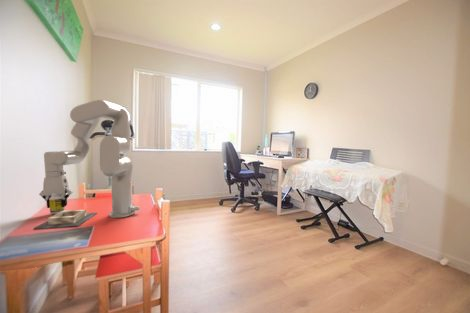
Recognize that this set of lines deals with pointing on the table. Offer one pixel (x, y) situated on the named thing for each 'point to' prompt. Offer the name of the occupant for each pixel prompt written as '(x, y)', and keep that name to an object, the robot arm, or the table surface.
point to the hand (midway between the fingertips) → (57, 206)
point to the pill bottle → (55, 204)
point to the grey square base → (66, 219)
